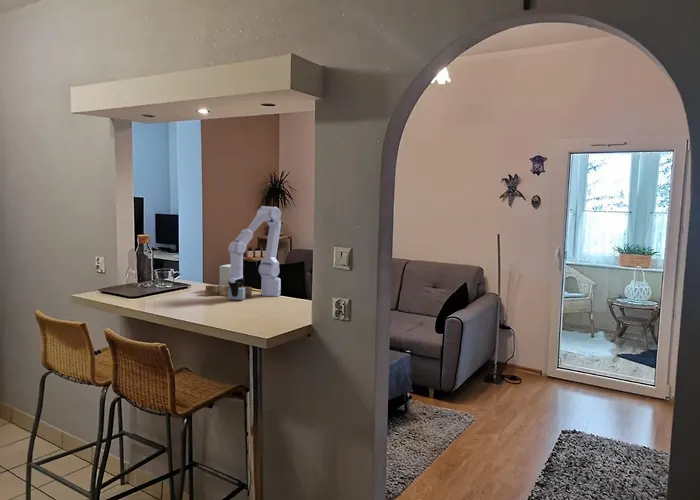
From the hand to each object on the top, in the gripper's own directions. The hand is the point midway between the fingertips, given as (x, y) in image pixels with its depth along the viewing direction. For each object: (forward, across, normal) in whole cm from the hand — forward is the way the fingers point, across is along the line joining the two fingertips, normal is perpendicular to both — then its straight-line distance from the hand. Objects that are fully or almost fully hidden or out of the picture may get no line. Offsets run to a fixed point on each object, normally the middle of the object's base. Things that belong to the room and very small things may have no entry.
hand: (236, 295), depth 254 cm
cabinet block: (+2, 0, 0) cm, 2 cm away
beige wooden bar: (+2, -8, -6) cm, 11 cm away
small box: (+2, -22, -10) cm, 24 cm away
